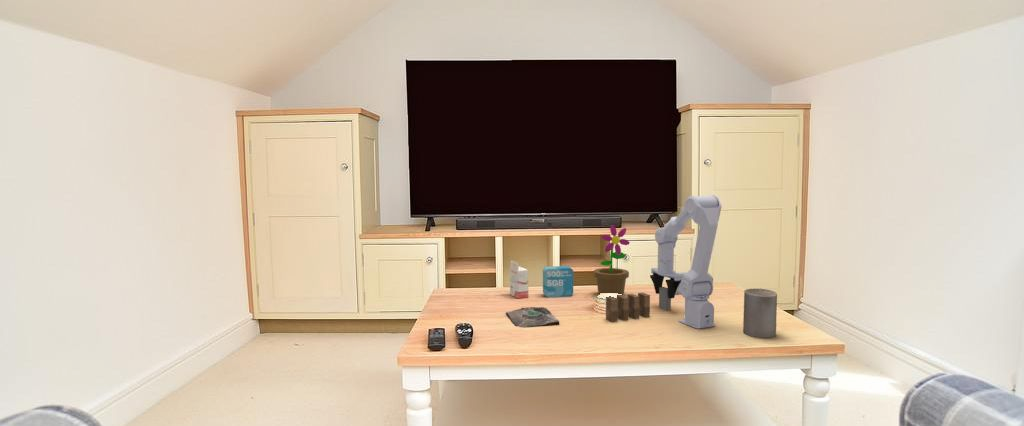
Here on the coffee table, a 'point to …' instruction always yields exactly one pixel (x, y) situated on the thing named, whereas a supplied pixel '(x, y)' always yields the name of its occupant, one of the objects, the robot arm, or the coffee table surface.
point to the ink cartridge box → (518, 281)
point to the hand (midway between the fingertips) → (664, 295)
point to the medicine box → (681, 280)
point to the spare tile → (664, 299)
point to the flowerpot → (611, 277)
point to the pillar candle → (760, 313)
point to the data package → (558, 281)
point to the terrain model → (532, 317)
